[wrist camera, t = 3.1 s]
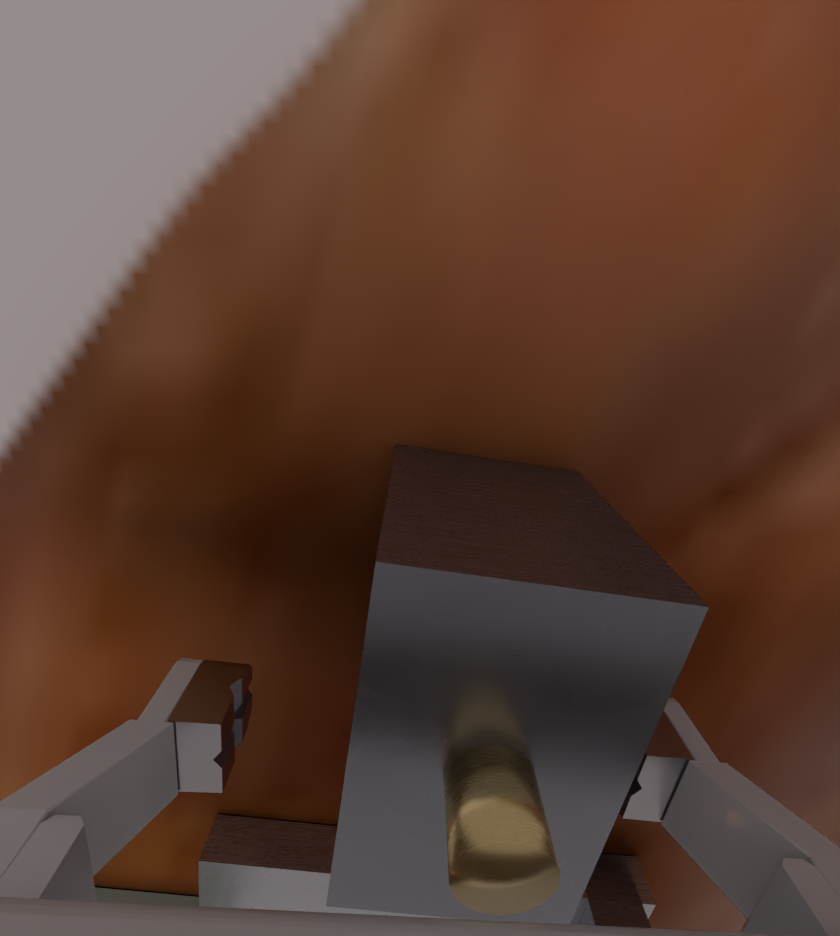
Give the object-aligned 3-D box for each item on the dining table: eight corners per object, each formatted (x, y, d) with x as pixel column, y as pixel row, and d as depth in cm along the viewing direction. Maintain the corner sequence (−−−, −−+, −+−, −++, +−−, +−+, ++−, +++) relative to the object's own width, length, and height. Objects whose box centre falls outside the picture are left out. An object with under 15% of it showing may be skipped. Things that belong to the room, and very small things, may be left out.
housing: (577, 470, 12) (785, 685, 5) (512, 695, 15) (593, 1038, 8) (395, 442, 12) (363, 632, 5) (361, 677, 15) (309, 1015, 8)
